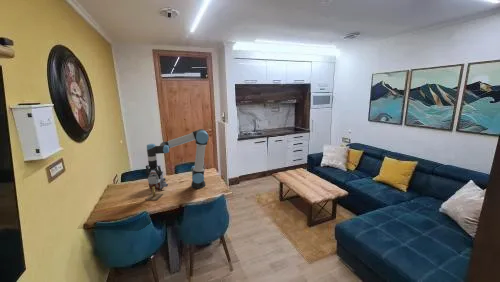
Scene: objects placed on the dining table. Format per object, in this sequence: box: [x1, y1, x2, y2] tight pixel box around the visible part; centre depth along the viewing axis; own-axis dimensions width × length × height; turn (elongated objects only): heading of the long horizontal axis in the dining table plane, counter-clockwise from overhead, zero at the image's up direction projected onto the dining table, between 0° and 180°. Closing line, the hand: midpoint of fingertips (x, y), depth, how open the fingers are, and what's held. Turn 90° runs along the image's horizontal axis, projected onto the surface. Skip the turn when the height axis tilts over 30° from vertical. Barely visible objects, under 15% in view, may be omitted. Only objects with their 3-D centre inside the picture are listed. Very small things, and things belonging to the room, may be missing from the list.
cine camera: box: [147, 169, 169, 191], centre depth 231 cm, size 9×19×20 cm, turn 78°
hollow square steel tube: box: [147, 174, 161, 185], centre depth 211 cm, size 8×8×7 cm
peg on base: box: [144, 187, 164, 201], centre depth 213 cm, size 12×12×11 cm
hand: (154, 182), depth 211 cm, fingers closed on hollow square steel tube, 8 cm apart
